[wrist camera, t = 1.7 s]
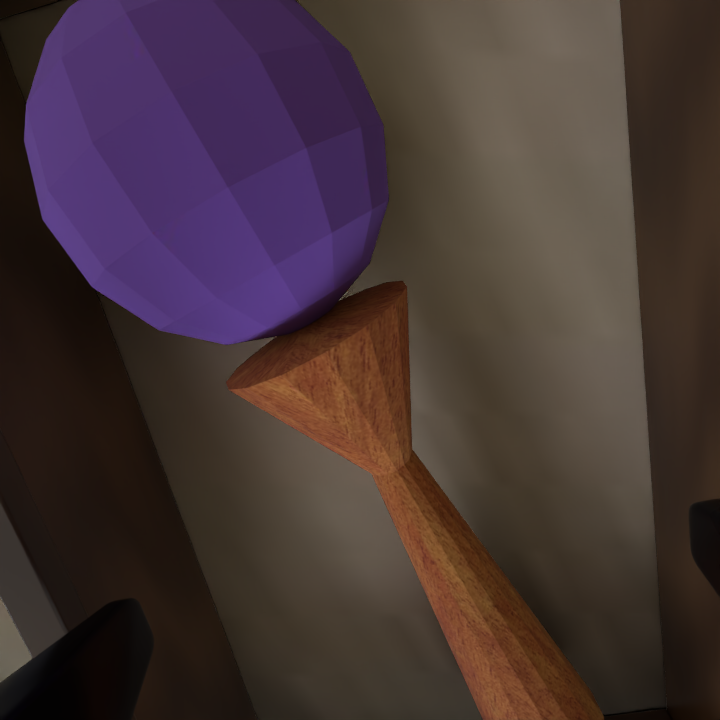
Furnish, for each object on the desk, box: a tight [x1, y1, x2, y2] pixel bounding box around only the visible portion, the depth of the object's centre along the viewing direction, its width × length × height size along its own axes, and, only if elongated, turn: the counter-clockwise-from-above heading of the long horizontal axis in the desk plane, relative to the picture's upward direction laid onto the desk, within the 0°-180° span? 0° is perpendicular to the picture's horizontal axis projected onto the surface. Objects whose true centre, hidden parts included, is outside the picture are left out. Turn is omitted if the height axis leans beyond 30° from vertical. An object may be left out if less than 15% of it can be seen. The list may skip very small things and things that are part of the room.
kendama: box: [24, 0, 604, 720], centre depth 10 cm, size 6×6×20 cm
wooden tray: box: [0, 0, 720, 720], centre depth 10 cm, size 26×16×5 cm, turn 13°
